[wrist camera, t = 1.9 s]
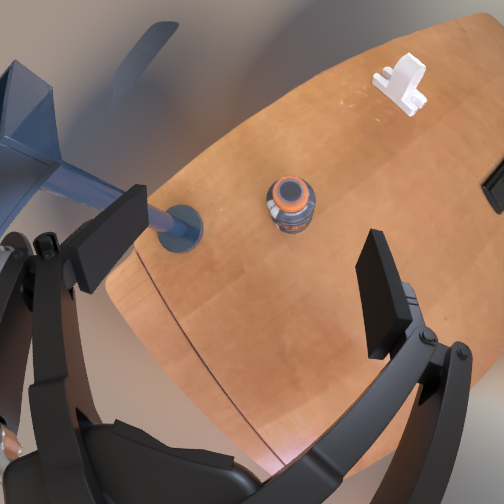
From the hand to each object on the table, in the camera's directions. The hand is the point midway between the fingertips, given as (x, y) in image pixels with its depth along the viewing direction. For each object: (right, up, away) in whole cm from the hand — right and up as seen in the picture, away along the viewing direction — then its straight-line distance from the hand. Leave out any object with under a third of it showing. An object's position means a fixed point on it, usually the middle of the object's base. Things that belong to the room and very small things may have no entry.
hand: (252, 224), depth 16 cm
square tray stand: (-11, +2, +28) cm, 30 cm away
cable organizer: (+27, +28, +25) cm, 46 cm away
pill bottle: (+6, +4, +26) cm, 27 cm away
